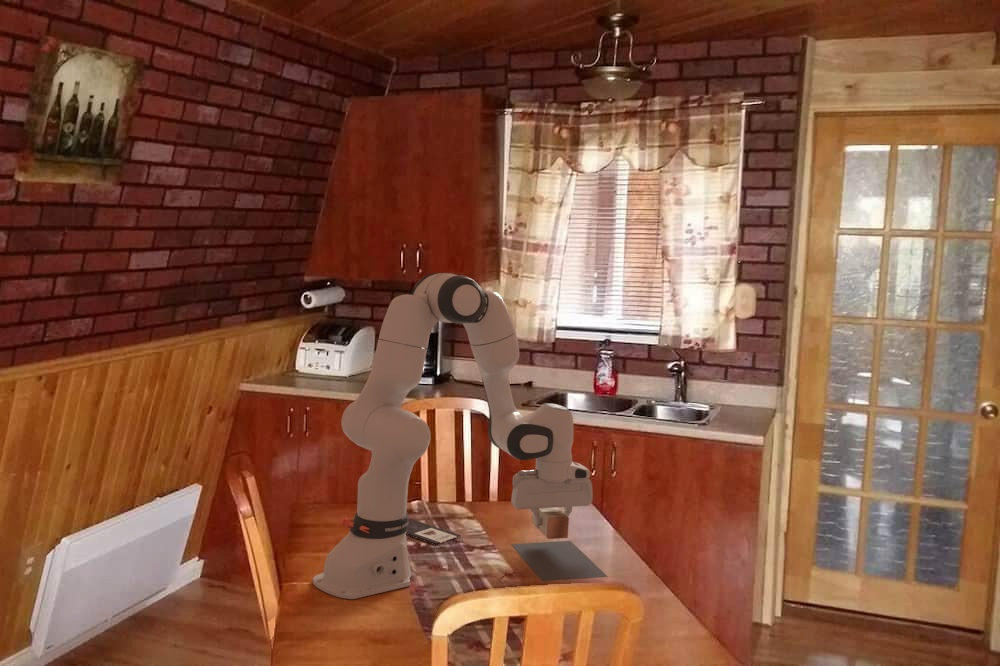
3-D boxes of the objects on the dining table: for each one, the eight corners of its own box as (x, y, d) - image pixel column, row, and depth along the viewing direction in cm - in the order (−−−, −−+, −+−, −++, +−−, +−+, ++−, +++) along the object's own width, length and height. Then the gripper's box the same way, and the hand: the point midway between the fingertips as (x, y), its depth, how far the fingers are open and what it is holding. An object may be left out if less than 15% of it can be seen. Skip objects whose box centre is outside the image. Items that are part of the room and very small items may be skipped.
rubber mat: (607, 578, 210) (607, 576, 210) (542, 583, 206) (542, 580, 206) (570, 543, 233) (570, 540, 233) (510, 546, 229) (510, 544, 229)
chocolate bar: (410, 518, 245) (460, 535, 234) (410, 522, 245) (460, 538, 234) (386, 525, 238) (436, 543, 227) (385, 529, 238) (436, 547, 227)
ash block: (532, 522, 230) (548, 539, 219) (533, 503, 230) (549, 518, 218) (550, 521, 232) (567, 537, 220) (551, 502, 231) (568, 517, 220)
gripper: (517, 474, 217) (514, 530, 219) (596, 471, 223) (593, 526, 225) (509, 467, 223) (506, 522, 225) (586, 464, 229) (583, 517, 231)
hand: (550, 524), depth 225 cm, fingers closed on ash block, 5 cm apart
